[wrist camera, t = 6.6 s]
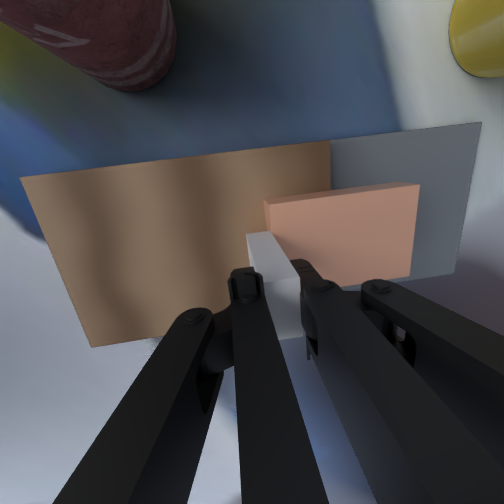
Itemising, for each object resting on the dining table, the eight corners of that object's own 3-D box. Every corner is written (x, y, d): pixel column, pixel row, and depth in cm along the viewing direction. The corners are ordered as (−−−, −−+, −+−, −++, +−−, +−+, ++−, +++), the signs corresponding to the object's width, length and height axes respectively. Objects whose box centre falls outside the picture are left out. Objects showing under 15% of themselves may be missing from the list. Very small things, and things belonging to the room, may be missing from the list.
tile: (271, 282, 18) (277, 296, 17) (263, 199, 16) (269, 204, 14) (390, 264, 19) (409, 276, 17) (398, 181, 17) (420, 184, 15)
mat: (319, 292, 22) (321, 294, 22) (316, 141, 18) (318, 141, 18) (450, 271, 23) (454, 273, 23) (476, 122, 19) (481, 121, 18)
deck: (105, 326, 21) (91, 347, 19) (47, 174, 17) (19, 177, 14) (319, 292, 22) (331, 308, 20) (316, 141, 18) (330, 139, 16)
